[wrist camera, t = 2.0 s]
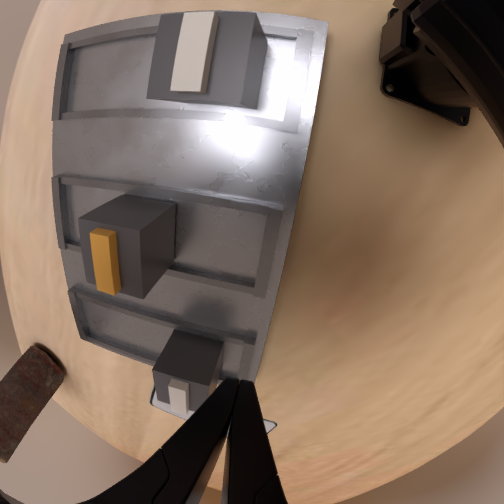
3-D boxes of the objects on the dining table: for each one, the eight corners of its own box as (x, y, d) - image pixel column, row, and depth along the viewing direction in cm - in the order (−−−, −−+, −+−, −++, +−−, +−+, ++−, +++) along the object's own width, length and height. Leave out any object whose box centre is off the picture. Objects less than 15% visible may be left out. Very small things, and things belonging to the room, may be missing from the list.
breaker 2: (224, 341, 21) (206, 394, 16) (220, 373, 23) (205, 422, 18) (174, 328, 21) (148, 377, 16) (176, 361, 23) (154, 407, 18)
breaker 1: (267, 42, 12) (253, 6, 7) (256, 109, 14) (236, 102, 9) (195, 38, 12) (153, 9, 7) (185, 102, 14) (137, 97, 9)
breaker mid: (176, 203, 17) (132, 236, 12) (174, 261, 18) (137, 307, 14) (121, 194, 17) (69, 222, 12) (123, 249, 19) (79, 288, 14)
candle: (36, 333, 30) (-39, 427, 12) (72, 369, 32) (6, 470, 14) (30, 350, 33) (-33, 431, 15) (62, 381, 35) (5, 467, 17)
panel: (325, 32, 13) (329, 17, 10) (255, 375, 25) (250, 398, 23) (81, 38, 14) (57, 33, 11) (91, 327, 26) (78, 343, 24)
